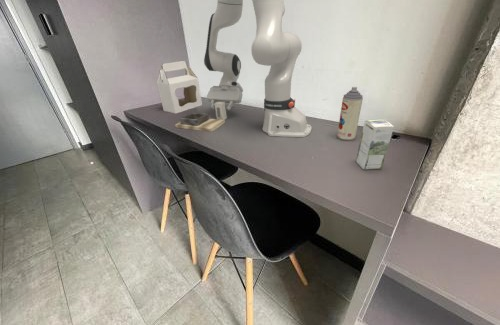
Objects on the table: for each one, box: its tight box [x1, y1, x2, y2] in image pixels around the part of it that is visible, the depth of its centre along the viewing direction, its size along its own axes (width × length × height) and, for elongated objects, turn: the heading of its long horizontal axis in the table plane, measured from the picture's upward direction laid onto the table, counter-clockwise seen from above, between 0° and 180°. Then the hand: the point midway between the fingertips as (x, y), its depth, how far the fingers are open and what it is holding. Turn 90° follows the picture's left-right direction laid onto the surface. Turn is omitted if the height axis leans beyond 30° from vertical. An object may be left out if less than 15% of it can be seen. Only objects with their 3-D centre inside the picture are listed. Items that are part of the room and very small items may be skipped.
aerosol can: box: [336, 86, 364, 142], centre depth 85 cm, size 7×7×20 cm
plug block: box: [214, 102, 228, 121], centre depth 118 cm, size 4×4×9 cm
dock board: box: [174, 112, 226, 133], centre depth 113 cm, size 22×13×4 cm, turn 66°
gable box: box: [156, 60, 203, 115], centre depth 139 cm, size 22×13×28 cm, turn 142°
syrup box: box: [355, 119, 395, 171], centre depth 67 cm, size 6×6×14 cm
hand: (220, 108), depth 118 cm, fingers open, 8 cm apart
